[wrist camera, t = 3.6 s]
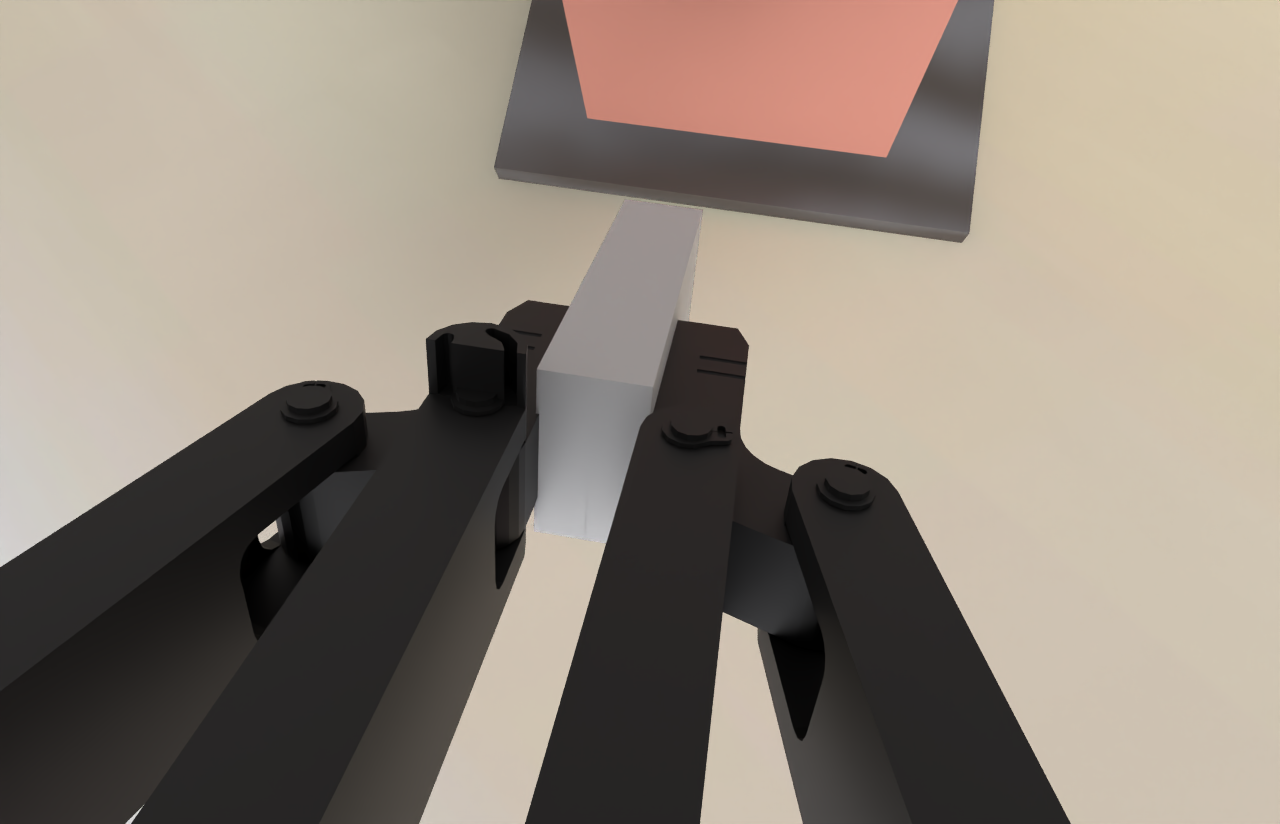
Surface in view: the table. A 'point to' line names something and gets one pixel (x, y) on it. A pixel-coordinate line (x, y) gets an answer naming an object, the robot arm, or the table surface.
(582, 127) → the housing
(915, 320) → the table surface
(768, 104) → the red flanged plug
